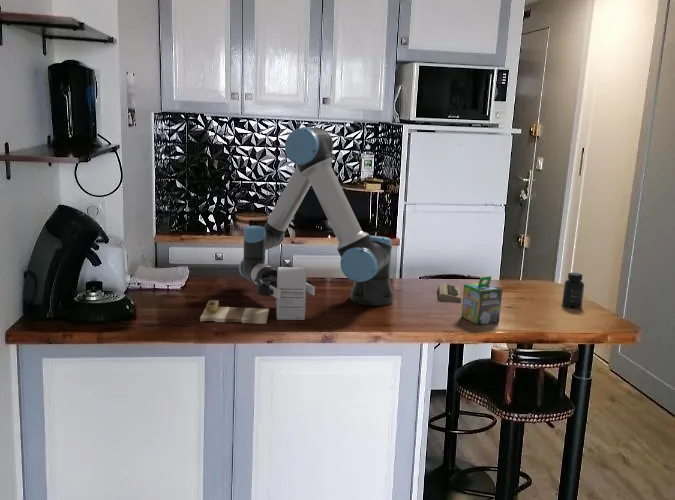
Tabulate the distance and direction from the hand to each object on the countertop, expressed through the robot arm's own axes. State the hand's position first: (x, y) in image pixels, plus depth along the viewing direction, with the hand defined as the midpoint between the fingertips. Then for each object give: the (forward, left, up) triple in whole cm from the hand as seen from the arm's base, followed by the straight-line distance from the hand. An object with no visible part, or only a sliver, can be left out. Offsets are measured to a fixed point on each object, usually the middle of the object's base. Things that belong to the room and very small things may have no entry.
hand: (296, 292), depth 203 cm
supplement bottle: (-99, -27, -9) cm, 103 cm away
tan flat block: (-56, -35, -9) cm, 67 cm away
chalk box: (-60, -6, -9) cm, 61 cm away
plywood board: (+19, 0, -9) cm, 21 cm away
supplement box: (+2, -3, -9) cm, 10 cm away
